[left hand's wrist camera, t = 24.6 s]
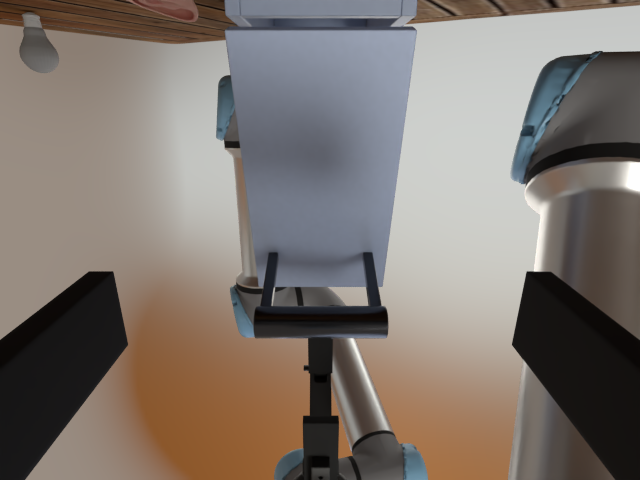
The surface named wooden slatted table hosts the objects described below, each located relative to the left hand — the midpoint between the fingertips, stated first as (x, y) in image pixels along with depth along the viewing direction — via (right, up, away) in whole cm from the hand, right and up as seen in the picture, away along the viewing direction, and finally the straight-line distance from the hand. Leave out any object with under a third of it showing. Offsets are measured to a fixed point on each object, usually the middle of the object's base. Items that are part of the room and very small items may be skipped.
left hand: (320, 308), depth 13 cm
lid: (0, +6, +13) cm, 14 cm away
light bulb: (-52, +43, +58) cm, 89 cm away
